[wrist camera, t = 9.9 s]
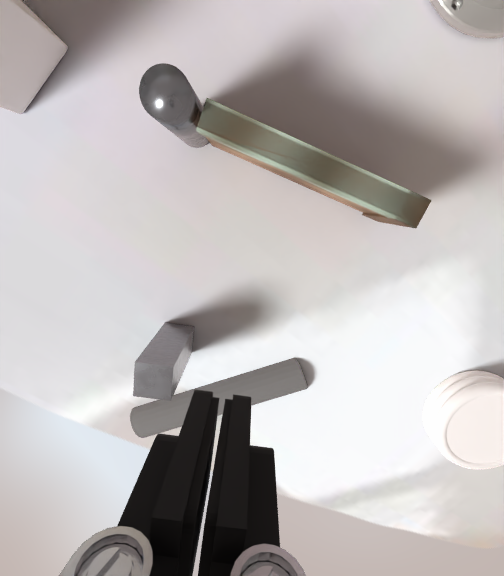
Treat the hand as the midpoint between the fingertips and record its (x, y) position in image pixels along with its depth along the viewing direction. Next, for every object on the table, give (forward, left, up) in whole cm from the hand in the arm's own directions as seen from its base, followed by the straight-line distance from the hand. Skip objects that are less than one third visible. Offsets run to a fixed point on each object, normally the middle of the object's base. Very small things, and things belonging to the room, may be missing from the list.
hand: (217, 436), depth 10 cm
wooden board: (-4, -9, -22) cm, 24 cm away
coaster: (-26, +12, -24) cm, 37 cm away
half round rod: (+1, +15, -24) cm, 28 cm away
